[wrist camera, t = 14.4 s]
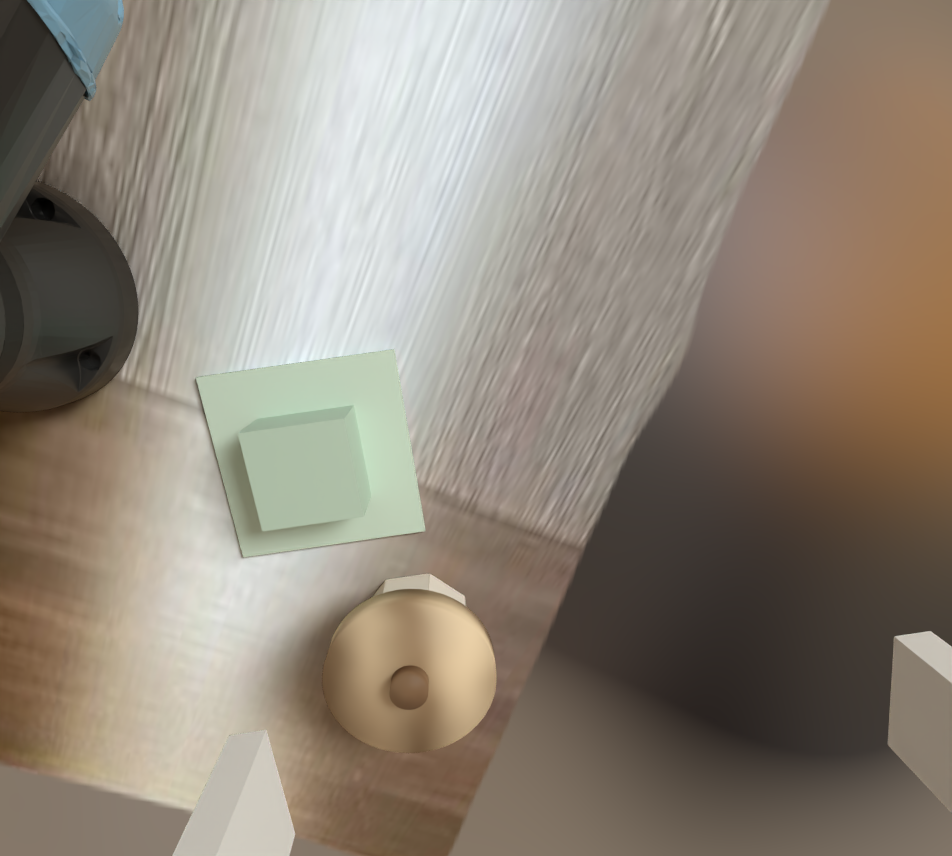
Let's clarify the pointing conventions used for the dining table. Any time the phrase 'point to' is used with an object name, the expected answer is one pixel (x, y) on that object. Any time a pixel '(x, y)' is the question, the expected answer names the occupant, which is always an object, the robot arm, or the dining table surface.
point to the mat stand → (314, 452)
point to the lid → (409, 671)
